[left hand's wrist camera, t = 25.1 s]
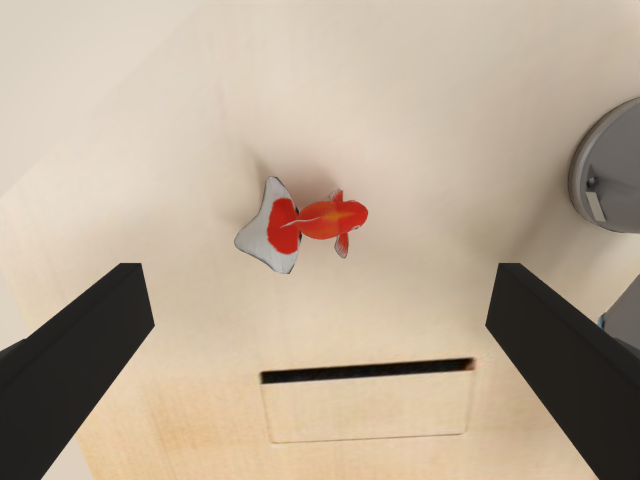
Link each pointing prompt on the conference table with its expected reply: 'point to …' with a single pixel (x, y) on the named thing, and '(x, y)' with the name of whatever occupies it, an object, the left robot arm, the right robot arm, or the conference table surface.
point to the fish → (296, 226)
